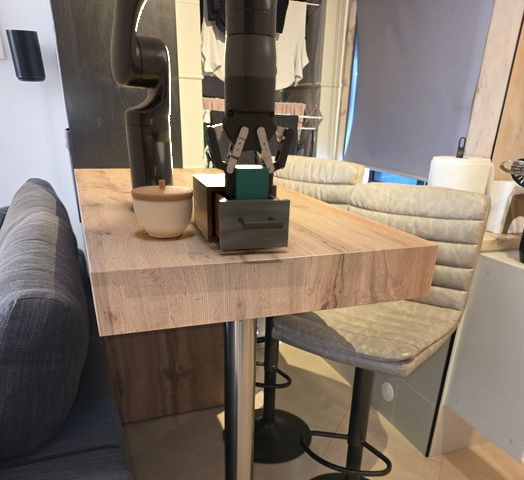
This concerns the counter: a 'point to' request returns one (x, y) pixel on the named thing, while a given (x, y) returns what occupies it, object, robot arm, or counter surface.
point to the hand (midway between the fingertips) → (248, 196)
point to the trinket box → (163, 209)
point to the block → (251, 182)
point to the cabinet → (208, 201)
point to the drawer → (250, 222)
